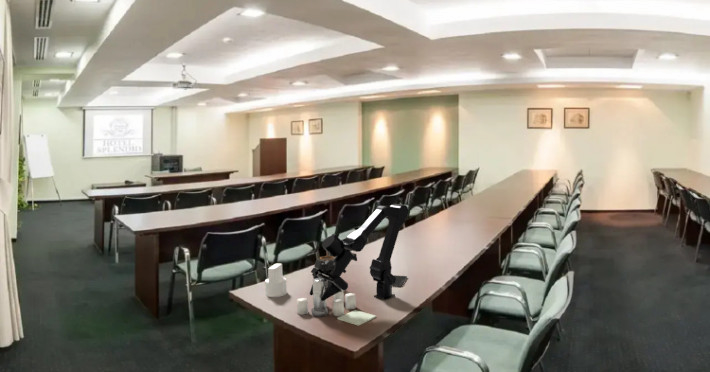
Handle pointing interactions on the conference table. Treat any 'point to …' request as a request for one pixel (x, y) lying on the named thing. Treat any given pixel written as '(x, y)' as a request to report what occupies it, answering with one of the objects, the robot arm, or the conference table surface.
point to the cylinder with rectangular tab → (275, 282)
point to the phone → (399, 280)
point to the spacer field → (337, 304)
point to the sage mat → (356, 317)
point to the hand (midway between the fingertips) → (315, 297)
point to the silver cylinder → (319, 298)
